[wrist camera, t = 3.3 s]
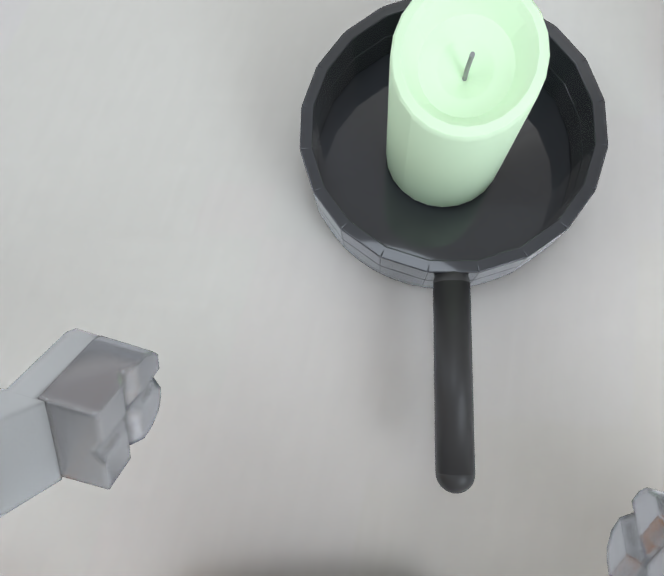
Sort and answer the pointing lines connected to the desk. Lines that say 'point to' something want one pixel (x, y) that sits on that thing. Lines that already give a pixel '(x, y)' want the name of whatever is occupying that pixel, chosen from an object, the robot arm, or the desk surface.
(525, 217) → the pan
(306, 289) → the desk surface
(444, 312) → the pan handle
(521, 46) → the candle
